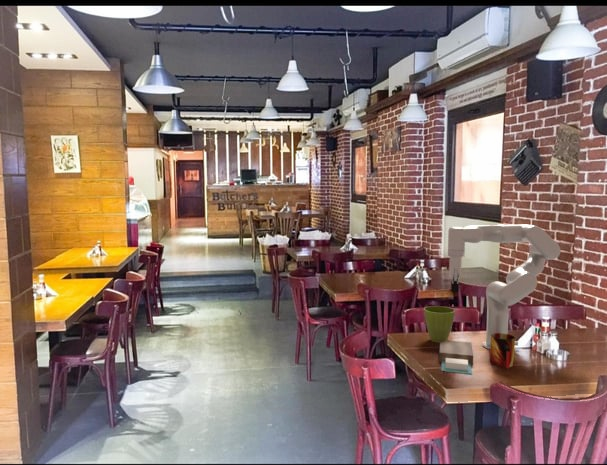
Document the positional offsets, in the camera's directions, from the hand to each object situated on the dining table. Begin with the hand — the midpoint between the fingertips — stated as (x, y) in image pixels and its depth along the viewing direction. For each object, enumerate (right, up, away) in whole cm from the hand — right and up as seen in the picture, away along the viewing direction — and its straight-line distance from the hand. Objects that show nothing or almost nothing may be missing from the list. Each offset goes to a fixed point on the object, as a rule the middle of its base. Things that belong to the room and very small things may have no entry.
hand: (454, 291), depth 235 cm
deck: (-3, -28, -10) cm, 30 cm away
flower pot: (-4, -26, +14) cm, 30 cm away
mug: (+15, -29, -21) cm, 39 cm away
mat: (-7, -29, -26) cm, 39 cm away
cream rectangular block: (-7, -26, -25) cm, 37 cm away
